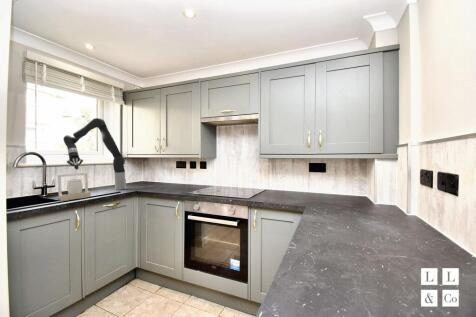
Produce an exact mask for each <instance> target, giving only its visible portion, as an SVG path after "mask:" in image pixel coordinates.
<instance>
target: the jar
mask: <svg viewBox="0 0 476 317" xmlns="http://www.w3.org/2000/svg"><path fill="white" fill-rule="evenodd" d="M66 182H67V184H66V190H67V193H68V194H77V193H83V185H84V184H83V179H82V178H73V179H67V180H66ZM68 194H67V195H68Z"/></svg>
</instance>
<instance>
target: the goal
mask: <svg viewBox="0 0 476 317" xmlns="http://www.w3.org/2000/svg"><path fill="white" fill-rule="evenodd" d="M74 176H84V187H85V188H84V192H82V193H77V194H63V193H62V178H63V177H74ZM88 182H89V180H88V172H79V173H67V174H57V188H58V190H57V191H58V199H59V198H60V199H59V200H60V201H61V200H63V201H68V200H69V199H70V200H75V199H83V198H84V199H85V198H90V197H91V196H92V195H91V191H90V190H89V183H88ZM70 200H69V201H70Z"/></svg>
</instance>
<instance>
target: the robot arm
mask: <svg viewBox="0 0 476 317" xmlns="http://www.w3.org/2000/svg"><path fill="white" fill-rule="evenodd" d="M96 128H98V130H99V131H100V134H101V139H102V142H103V143H104V146H105V148H106V150H108V151H109V153H111V155H112V157H113V160H112V163H113V171H114V190H116V191H119V190H126V189H127V179H126V169H125V165H124V164H126V159H125V158H124V156H123V154H122V153H121V152H120V150H119V147H118V146H117V144H116V142H115V140H114V138H113V136H112V134H111V132H110V131H109V128H108V126H107V124H106V122H105V120H104V119H102V118H100V117H99V118H98V117H94V118H93V119H91V120H90V121H89V122H88V123H87V124H86V125H84V126H82V127H81V128H80V129H78V130H77V131H74V132H73V134H72V135H69V134H68V135H67V134H66V135H64V136H63V143H64V145H65V146H66V148H67V154H68V158H69V159H68V160H66V164H68V165H70V166H71V167H74V170H76V171H77V170H79V166H81V164H82V163H83V162H84V159H81V158H80V155H79V151H78V148H77V143H78V142H79V140H80V139H82V138H83V137H85V136H87V134H88V133H89V132H91V131H92V130H93V129H96Z"/></svg>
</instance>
